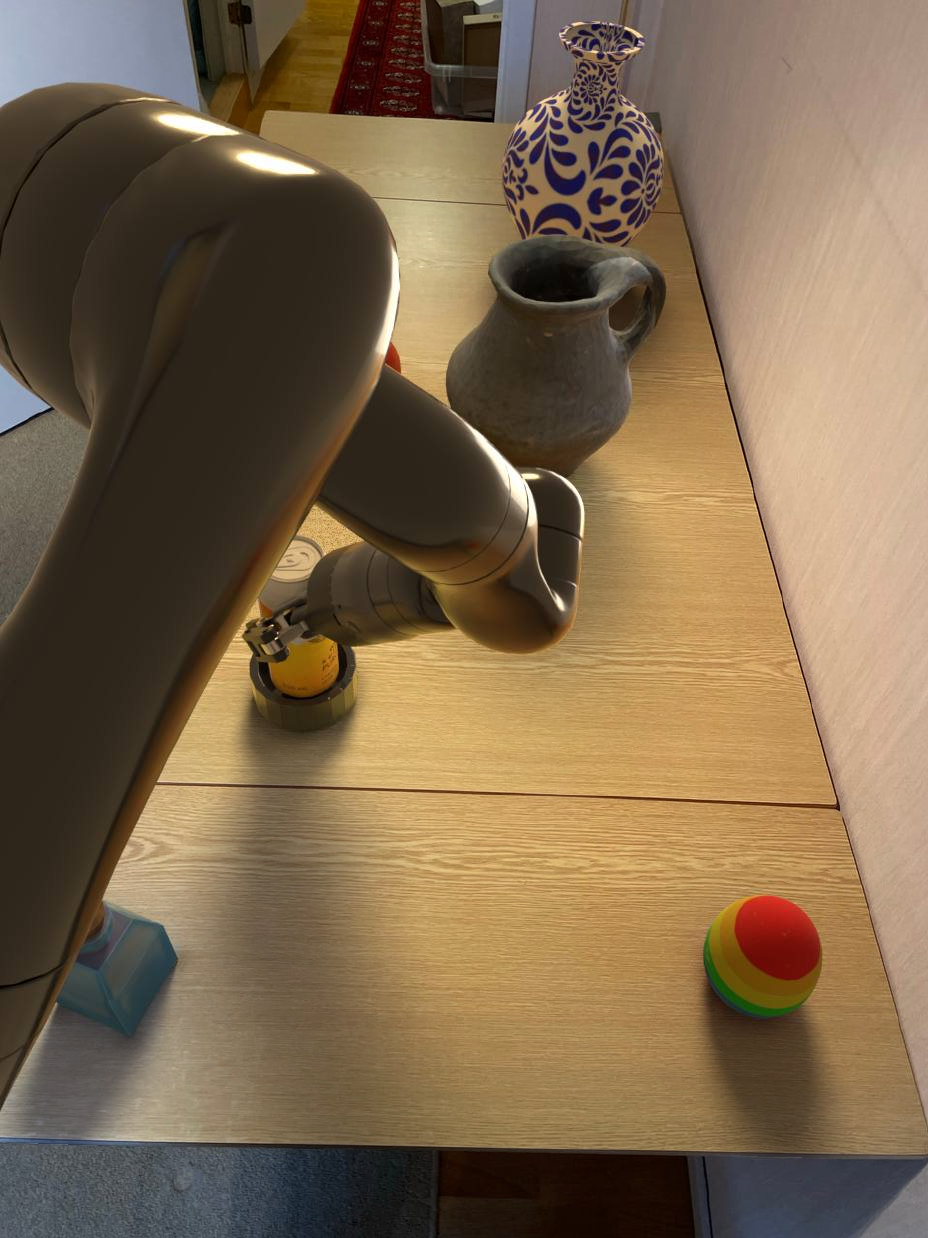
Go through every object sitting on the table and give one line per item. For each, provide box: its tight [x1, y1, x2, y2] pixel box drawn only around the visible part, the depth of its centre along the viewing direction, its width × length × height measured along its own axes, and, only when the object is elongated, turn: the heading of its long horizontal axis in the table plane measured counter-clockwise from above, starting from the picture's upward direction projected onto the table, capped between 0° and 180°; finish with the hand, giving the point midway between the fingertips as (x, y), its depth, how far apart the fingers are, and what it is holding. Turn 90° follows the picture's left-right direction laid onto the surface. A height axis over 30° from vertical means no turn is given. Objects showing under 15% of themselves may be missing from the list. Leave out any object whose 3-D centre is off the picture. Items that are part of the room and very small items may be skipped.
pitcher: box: [445, 234, 667, 479], centre depth 104 cm, size 21×22×25 cm
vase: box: [501, 20, 665, 248], centre depth 130 cm, size 22×22×30 cm
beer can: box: [257, 534, 339, 698], centre depth 83 cm, size 6×6×15 cm
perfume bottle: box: [56, 898, 179, 1038], centre depth 68 cm, size 6×6×12 cm
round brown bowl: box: [248, 643, 358, 734], centre depth 89 cm, size 9×9×4 cm
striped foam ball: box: [702, 894, 823, 1019], centre depth 71 cm, size 8×8×10 cm
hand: (285, 611), depth 84 cm, fingers closed on beer can, 6 cm apart
